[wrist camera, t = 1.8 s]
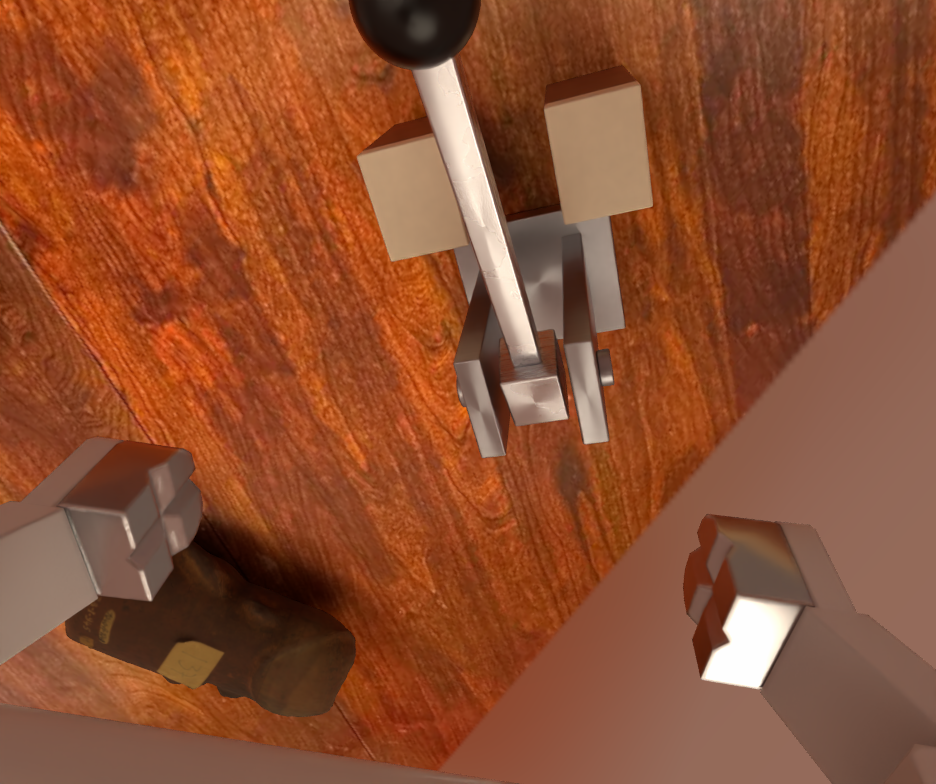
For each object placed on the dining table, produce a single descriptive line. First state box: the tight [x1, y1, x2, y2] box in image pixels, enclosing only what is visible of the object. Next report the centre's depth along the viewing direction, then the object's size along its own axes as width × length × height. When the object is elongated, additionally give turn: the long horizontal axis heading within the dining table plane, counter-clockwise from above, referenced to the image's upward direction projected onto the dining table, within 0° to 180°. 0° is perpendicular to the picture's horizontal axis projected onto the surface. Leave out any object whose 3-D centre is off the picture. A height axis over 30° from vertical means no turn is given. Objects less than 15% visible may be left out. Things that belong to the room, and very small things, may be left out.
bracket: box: [453, 204, 626, 458], centre depth 29 cm, size 7×8×13 cm
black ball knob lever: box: [349, 0, 569, 426], centre depth 20 cm, size 17×3×3 cm, turn 14°
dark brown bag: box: [65, 540, 356, 717], centre depth 48 cm, size 12×20×8 cm, turn 65°
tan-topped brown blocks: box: [357, 65, 653, 261], centre depth 28 cm, size 11×4×7 cm, turn 104°
